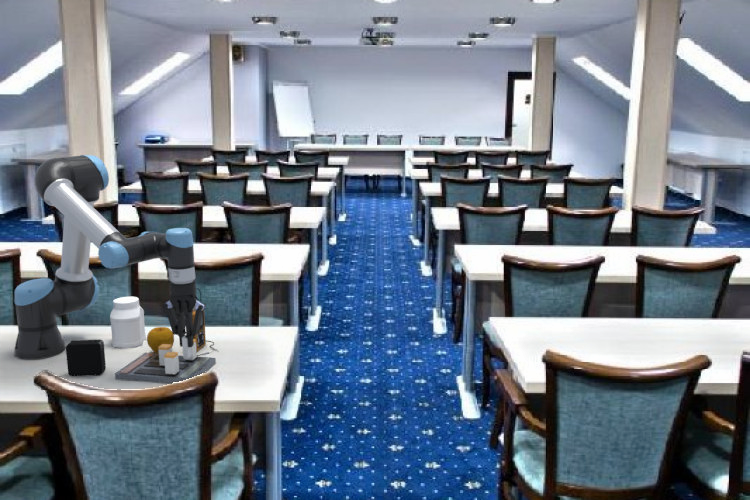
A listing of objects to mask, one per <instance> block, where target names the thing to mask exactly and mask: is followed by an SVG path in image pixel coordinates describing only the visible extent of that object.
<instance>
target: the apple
mask: <svg viewBox="0 0 750 500" xmlns="http://www.w3.org/2000/svg"><path fill="white" fill-rule="evenodd" d="M174 341H175V336H174V334H173V332H172V329H170V328H169V327H166V326H159V327H158V326H157V327H154V328H152V329H151V330H149V332H148V334H147V335H146V342H147V345H148V347H149V348H150V349H151V350H152V351H153V353H155V354H159V349H158V347H159V346H161V345H162V344H170V345H172V347H173V346H174Z"/></svg>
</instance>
